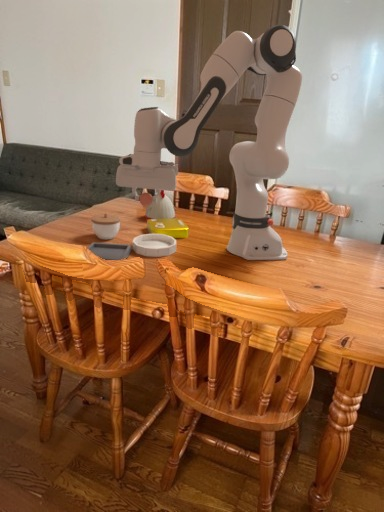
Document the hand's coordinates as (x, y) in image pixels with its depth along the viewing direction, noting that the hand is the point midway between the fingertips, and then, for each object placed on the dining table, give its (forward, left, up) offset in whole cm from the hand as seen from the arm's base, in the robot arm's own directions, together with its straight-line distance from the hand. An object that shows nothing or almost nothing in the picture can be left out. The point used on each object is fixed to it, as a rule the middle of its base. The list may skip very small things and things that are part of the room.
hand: (145, 201), depth 120 cm
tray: (+12, +8, -18) cm, 23 cm away
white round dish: (-3, -2, -18) cm, 18 cm away
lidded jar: (+17, -11, -18) cm, 27 cm away
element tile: (-6, -21, -19) cm, 28 cm away
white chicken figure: (-1, -41, -18) cm, 44 cm away
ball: (0, 0, +1) cm, 1 cm away
